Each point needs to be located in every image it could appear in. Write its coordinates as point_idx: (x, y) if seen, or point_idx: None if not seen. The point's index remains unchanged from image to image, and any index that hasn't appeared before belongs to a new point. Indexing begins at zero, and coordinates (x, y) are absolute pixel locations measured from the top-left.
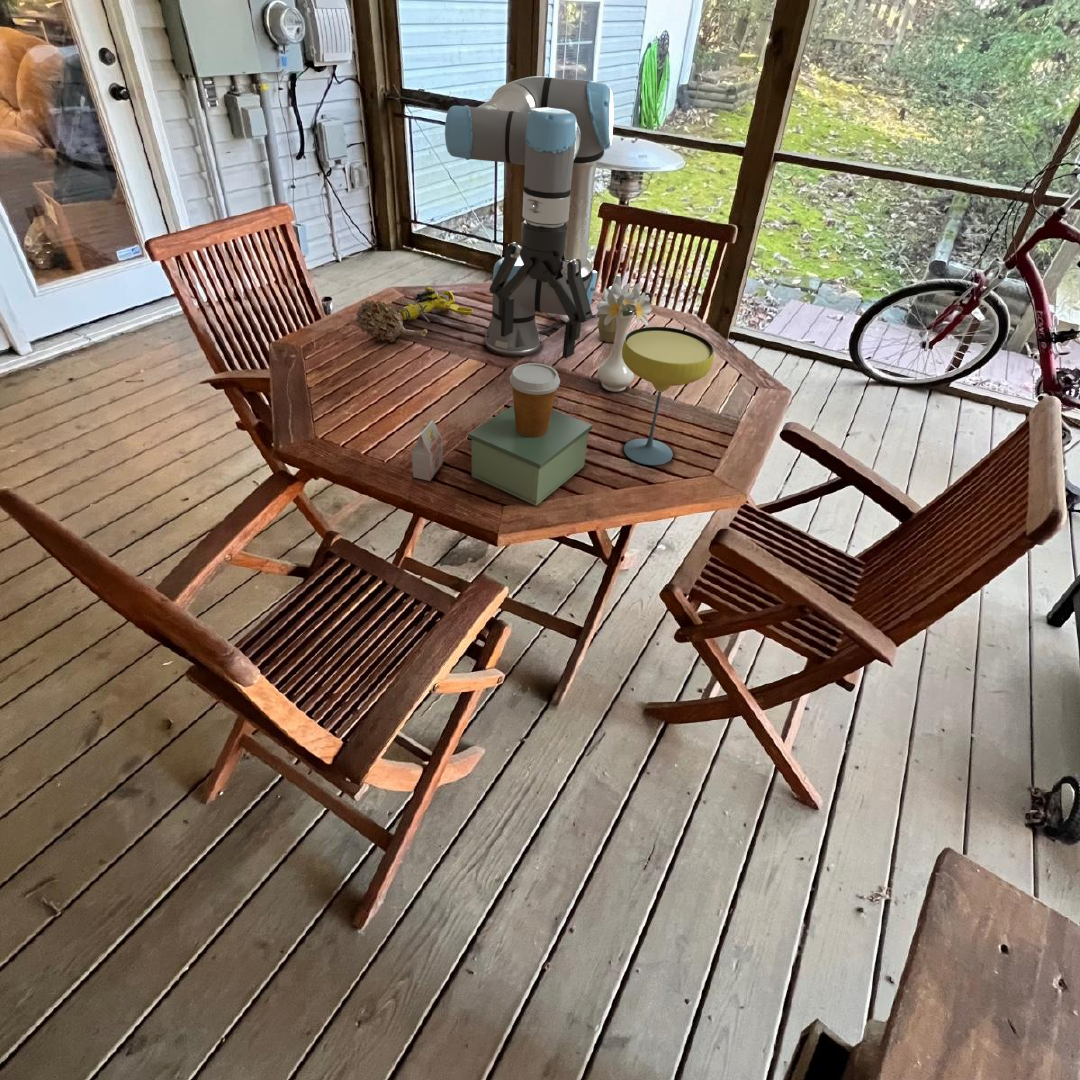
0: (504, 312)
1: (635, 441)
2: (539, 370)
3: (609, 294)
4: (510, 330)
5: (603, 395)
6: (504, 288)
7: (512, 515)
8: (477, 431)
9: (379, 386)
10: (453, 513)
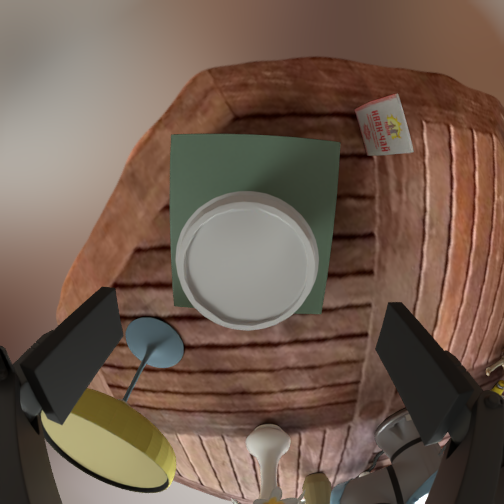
0: (436, 359)
1: (175, 353)
2: (251, 299)
3: None
4: (383, 344)
5: (268, 415)
6: (498, 444)
7: (211, 107)
8: (330, 158)
9: (497, 270)
10: (281, 66)
